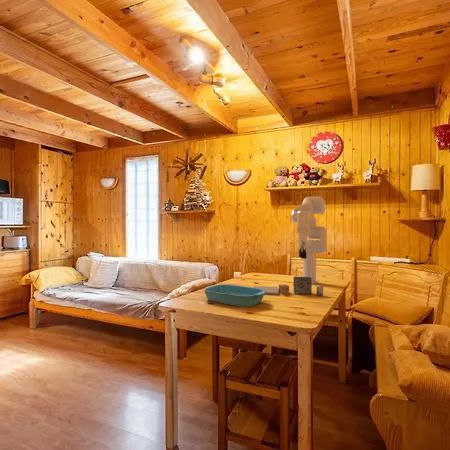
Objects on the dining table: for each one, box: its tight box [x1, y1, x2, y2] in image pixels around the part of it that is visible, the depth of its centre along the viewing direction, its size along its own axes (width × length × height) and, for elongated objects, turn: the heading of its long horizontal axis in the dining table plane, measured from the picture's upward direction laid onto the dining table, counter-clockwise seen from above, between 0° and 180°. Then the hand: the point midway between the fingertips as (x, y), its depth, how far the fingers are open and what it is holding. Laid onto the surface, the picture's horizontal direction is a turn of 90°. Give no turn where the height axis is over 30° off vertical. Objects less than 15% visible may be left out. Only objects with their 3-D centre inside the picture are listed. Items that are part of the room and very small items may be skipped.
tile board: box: [253, 285, 280, 296], centre depth 202 cm, size 18×16×2 cm
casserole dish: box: [203, 283, 265, 308], centre depth 177 cm, size 37×22×7 cm, turn 56°
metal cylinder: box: [316, 284, 324, 297], centre depth 192 cm, size 4×4×6 cm
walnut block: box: [278, 283, 290, 295], centre depth 198 cm, size 5×5×5 cm
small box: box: [293, 275, 313, 296], centre depth 197 cm, size 11×6×10 cm, turn 84°
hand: (302, 257), depth 197 cm, fingers open, 9 cm apart
